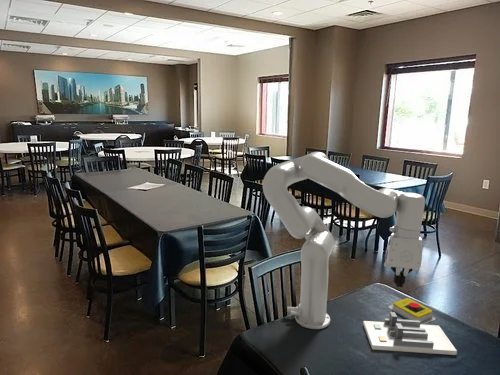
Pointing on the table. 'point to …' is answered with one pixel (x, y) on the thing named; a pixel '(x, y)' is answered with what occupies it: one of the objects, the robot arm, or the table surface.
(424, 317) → the emergency button
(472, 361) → the table surface
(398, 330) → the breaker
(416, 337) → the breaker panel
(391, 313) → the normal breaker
